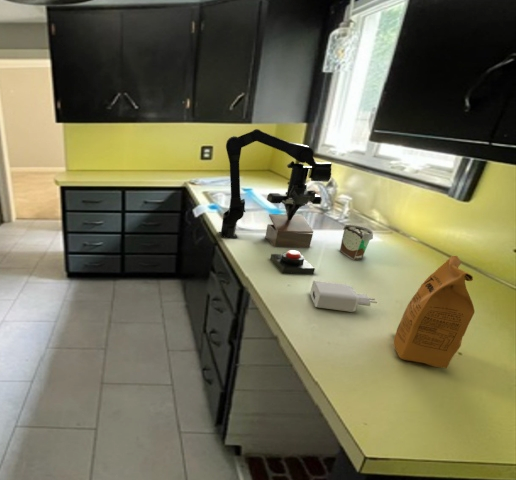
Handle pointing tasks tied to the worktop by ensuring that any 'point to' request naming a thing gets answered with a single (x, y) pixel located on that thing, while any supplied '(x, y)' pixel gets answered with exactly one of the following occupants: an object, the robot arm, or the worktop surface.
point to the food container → (355, 241)
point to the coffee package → (436, 317)
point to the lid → (290, 224)
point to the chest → (288, 238)
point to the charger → (337, 296)
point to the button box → (292, 264)
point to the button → (293, 254)
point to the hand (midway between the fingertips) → (289, 219)
